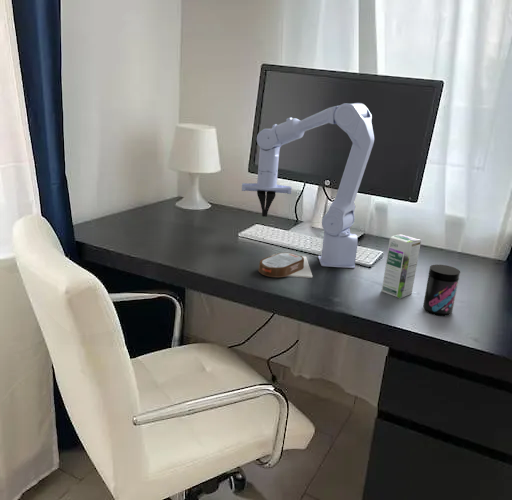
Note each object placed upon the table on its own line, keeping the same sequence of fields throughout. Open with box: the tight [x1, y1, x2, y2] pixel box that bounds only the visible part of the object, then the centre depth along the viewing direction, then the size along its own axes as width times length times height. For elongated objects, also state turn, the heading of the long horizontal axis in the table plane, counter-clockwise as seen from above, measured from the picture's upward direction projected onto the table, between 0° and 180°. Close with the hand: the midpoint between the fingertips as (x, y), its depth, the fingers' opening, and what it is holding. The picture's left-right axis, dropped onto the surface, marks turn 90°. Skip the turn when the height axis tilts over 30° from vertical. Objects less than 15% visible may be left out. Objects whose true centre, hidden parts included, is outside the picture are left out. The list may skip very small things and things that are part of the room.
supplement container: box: [422, 264, 461, 317], centre depth 129 cm, size 7×7×10 cm
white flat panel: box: [287, 255, 313, 279], centre depth 153 cm, size 10×16×1 cm, turn 1°
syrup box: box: [381, 234, 422, 300], centre depth 137 cm, size 6×6×14 cm
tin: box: [258, 252, 304, 278], centre depth 149 cm, size 15×3×8 cm
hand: (264, 215), depth 166 cm, fingers closed
